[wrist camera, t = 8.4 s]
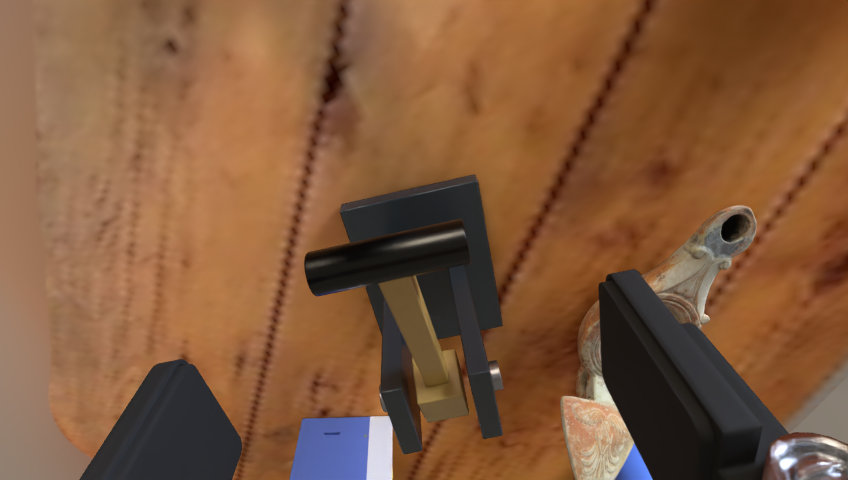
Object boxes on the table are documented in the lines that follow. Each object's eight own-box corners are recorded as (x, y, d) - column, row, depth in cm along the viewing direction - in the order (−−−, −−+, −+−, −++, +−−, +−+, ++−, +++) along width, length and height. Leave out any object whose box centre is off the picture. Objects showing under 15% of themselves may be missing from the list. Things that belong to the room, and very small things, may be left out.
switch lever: (305, 231, 15) (302, 294, 13) (457, 198, 15) (471, 257, 13) (396, 383, 25) (400, 428, 23) (486, 365, 25) (497, 409, 23)
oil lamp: (506, 381, 39) (539, 495, 30) (677, 165, 30) (791, 237, 22) (588, 409, 41) (640, 523, 33) (768, 216, 33) (905, 300, 24)
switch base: (341, 203, 30) (307, 338, 19) (475, 173, 30) (526, 292, 18) (387, 339, 36) (383, 506, 25) (499, 316, 36) (550, 476, 24)
